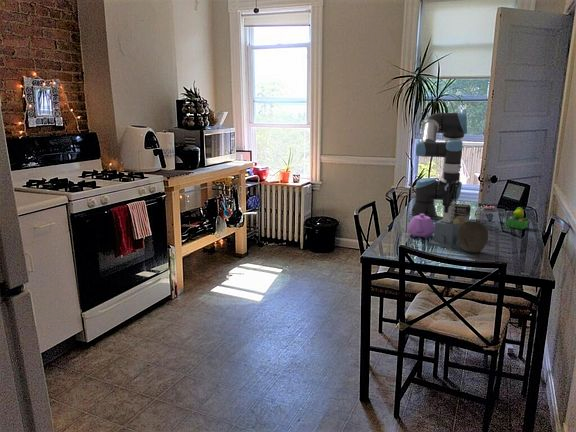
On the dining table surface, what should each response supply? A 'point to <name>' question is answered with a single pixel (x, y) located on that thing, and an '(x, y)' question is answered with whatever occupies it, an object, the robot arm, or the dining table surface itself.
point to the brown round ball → (472, 236)
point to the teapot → (421, 226)
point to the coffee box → (462, 213)
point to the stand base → (446, 234)
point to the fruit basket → (517, 219)
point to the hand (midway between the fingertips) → (448, 217)
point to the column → (451, 216)
